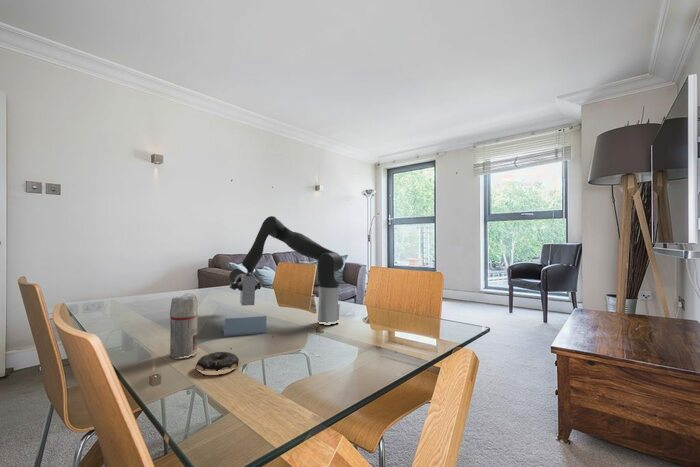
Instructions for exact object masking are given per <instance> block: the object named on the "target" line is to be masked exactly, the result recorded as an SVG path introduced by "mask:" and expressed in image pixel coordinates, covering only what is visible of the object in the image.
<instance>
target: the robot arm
mask: <svg viewBox="0 0 700 467" xmlns="http://www.w3.org/2000/svg"><path fill="white" fill-rule="evenodd" d="M269 236H270V237H271V238H274V239H276V240H278V241H280V242H283V243H284V244H286V246H287V247H289V248H290V249H291V250H292V251H294V252H296V253H298V254H299V255H301V256H304V257H307V258H310V259H312V260H313V259H314V260H316V261H317V281H318V284H319V285H318V305H317V306H318V309H317V310H318V311H317V322H318V321H319V322H326V323H328V322H335V321H337V320H339V321H340V306H341V305H340V303H339V288H340V287H339V286H340V283H339V280H337V279H336V278H335V272H338V271H340V270H341V269H342V268H343V266H344V259H343V257H342V256H341V255H340V254H339V253H338V252H335V251H334V250H333V251H332V250H330V249H329V248H325V247H324V246H322V245H321V244H320V243H318V242H316V241H315V240H312V239H311V238H310V237H308V236H306V235H305V234H303V233H300V232H297V231H294V230H293V231H292V230H291V229H289V228H288V227H287V226H285V224H284V223H282V221H280V220H279V219H278V218H277V217H276V216H273V215H270V216H268V217H266V218H265V219H264V221H263V222H262V223H261V226H260V228H259V231H258V233H257V235H256V237H255V239H254V242H253V243H252V245H251V248H250V249H249V251H248V252H247V254H246V255H245V257H244V258H243V260H242V261H241V265H242V266H243V267H244V268H245V269H246V271H247V272H250V273H251V275H253V273H254V270H255V268H256V266H257V265H258V263H259V262H260V260H261V259H262V257H263V253H264V248H265V244H266V241H267V239H268V237H269ZM247 272H244V270H241V269H239V268H234V269H232V270H231V271H230V273H229V278H228V280H229V281H230V282H229V289H231V290H233V291H236V290H238V291H239V292H241V291H242V284H241V275H247ZM261 288H262V281H257V282H255V291H257V290H260V289H261Z"/></svg>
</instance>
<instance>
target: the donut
mask: <svg viewBox="0 0 700 467" xmlns="http://www.w3.org/2000/svg"><path fill="white" fill-rule="evenodd" d="M239 360H240V359H239V357H238V355H236V354H235V353H233V352H228V351H217V352H211V353H209V354H205V355H202V356H201V357H200V358H199V359H198V361H197V362H196V365H195V368H196V367H197V368H196V370H197V369H198V370H201V371H218V370H225V369H232V368H237V369H238V368H239Z"/></svg>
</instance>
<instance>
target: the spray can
mask: <svg viewBox="0 0 700 467" xmlns="http://www.w3.org/2000/svg"><path fill="white" fill-rule="evenodd" d="M198 303H199V301H198V296H197V294H194V293H191V292H187V293H185V294H183V295H181V296H175V297H172V298H171V303H170V310H169V318H170V319H169V321H170V330H169V332H170V337H169V338H170V340H169V341H170V345H169V346H170V350H169V352H170V353H169V354H170V356H169V357H170V358H171V359H172V358H173V360H175V359H174V358H179V357H184V356H189V355H191V354H194V353H195V352H197V353H198V318H199V317H198V315H199V314H198V307H199V305H198Z"/></svg>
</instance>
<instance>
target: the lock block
mask: <svg viewBox="0 0 700 467" xmlns="http://www.w3.org/2000/svg"><path fill="white" fill-rule="evenodd" d="M246 273H247V275H241V284H242V291H240V294H239V295H240V296H239V299H240V300H239V303H240V305H241V306H243V307H246V306H254V305H255V296H256V295H255V294H256V290H255V283H256V275H255V274H252V275H251V273H250V272H246Z"/></svg>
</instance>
